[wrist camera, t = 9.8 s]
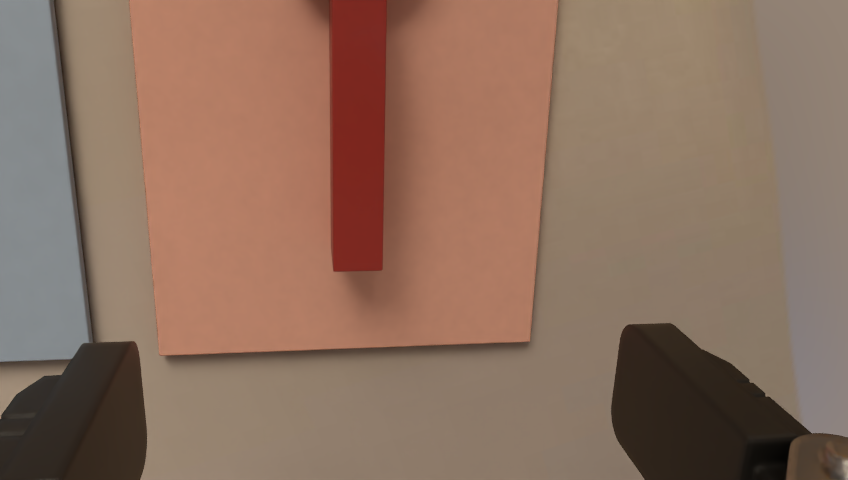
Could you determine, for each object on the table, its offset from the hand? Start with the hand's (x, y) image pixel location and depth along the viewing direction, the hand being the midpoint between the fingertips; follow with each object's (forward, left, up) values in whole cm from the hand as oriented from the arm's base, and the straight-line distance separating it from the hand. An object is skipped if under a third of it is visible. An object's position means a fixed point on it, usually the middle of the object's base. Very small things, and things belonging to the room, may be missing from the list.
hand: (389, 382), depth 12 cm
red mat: (-2, 0, -11) cm, 11 cm away
